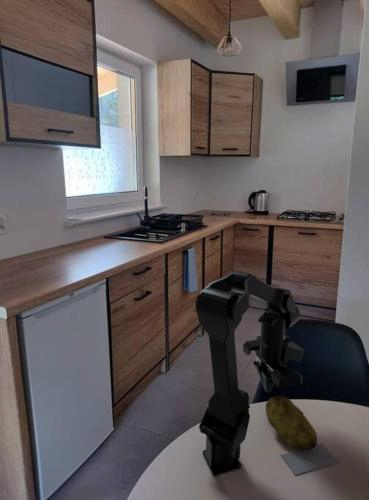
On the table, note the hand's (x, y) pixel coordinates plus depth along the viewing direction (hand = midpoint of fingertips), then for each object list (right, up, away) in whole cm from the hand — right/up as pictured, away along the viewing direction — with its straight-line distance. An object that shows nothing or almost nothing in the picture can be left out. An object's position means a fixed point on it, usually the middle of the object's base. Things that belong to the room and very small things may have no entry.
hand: (268, 391), depth 91 cm
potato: (+3, -8, -8) cm, 11 cm away
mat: (+6, -9, -14) cm, 18 cm away
